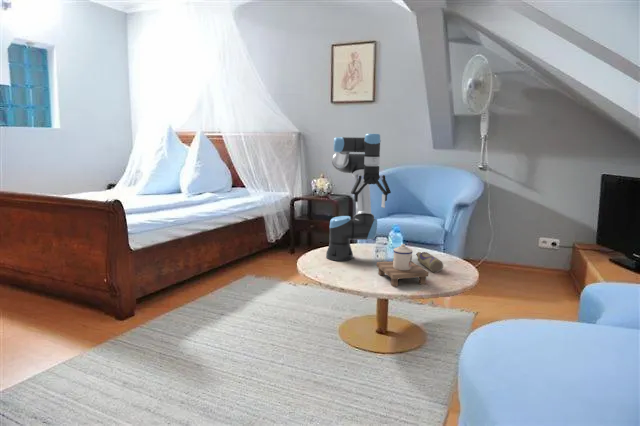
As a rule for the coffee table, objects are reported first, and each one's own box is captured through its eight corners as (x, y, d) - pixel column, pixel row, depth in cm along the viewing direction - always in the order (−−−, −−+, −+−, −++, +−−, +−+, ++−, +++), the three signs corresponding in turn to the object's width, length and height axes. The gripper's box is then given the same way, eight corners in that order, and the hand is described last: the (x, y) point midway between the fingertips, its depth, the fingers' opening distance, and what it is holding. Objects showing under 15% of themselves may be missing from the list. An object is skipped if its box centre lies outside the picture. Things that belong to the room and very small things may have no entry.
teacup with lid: (413, 271, 202) (414, 247, 200) (393, 270, 202) (394, 246, 200) (409, 263, 213) (410, 241, 211) (391, 263, 214) (392, 240, 212)
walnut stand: (376, 273, 216) (376, 262, 215) (409, 271, 221) (409, 260, 220) (392, 287, 197) (392, 274, 196) (427, 284, 202) (428, 272, 201)
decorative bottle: (443, 272, 220) (444, 260, 219) (429, 273, 219) (430, 260, 218) (424, 258, 245) (424, 246, 244) (411, 258, 244) (412, 247, 243)
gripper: (349, 166, 205) (348, 209, 209) (398, 165, 211) (396, 208, 215) (345, 165, 213) (344, 207, 216) (392, 164, 218) (390, 205, 222)
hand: (370, 207), depth 216 cm, fingers open, 13 cm apart
